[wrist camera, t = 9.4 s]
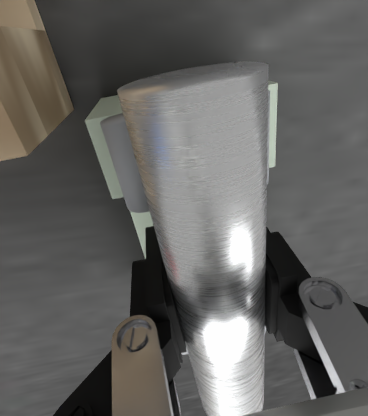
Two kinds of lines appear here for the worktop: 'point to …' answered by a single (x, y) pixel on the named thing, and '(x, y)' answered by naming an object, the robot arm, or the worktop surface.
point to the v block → (126, 163)
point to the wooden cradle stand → (27, 81)
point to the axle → (210, 215)
